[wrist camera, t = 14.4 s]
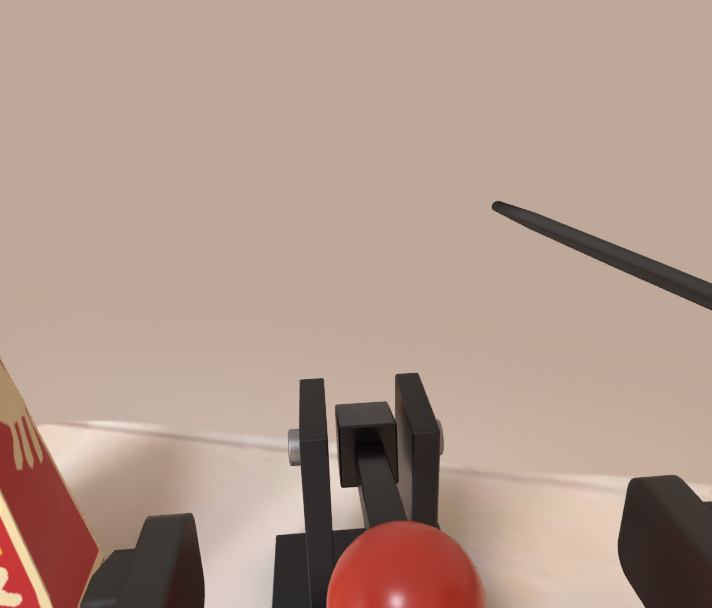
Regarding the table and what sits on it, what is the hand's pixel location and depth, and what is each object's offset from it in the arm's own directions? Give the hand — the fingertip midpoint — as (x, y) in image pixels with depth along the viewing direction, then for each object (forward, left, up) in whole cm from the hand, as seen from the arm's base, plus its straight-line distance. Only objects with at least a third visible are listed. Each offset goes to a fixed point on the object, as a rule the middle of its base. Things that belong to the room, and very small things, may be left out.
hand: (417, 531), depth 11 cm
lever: (0, -6, -6) cm, 8 cm away
